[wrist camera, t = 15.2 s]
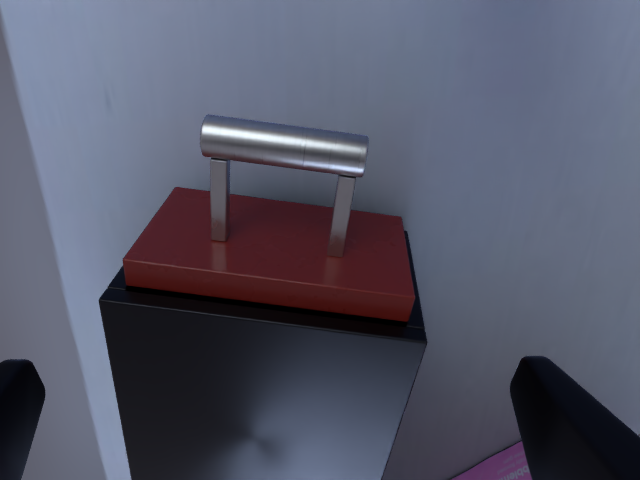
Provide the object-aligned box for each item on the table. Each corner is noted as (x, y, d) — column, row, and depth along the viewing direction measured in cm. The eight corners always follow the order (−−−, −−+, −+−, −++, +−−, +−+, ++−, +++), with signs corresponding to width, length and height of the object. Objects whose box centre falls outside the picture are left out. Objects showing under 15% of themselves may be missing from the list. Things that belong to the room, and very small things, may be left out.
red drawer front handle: (168, 77, 18) (102, 126, 14) (427, 112, 18) (452, 173, 14) (186, 375, 28) (150, 466, 23) (358, 397, 28) (358, 492, 23)
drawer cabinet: (169, 199, 22) (97, 299, 16) (407, 230, 22) (428, 342, 16) (182, 386, 29) (135, 506, 23) (362, 410, 30) (363, 535, 23)
